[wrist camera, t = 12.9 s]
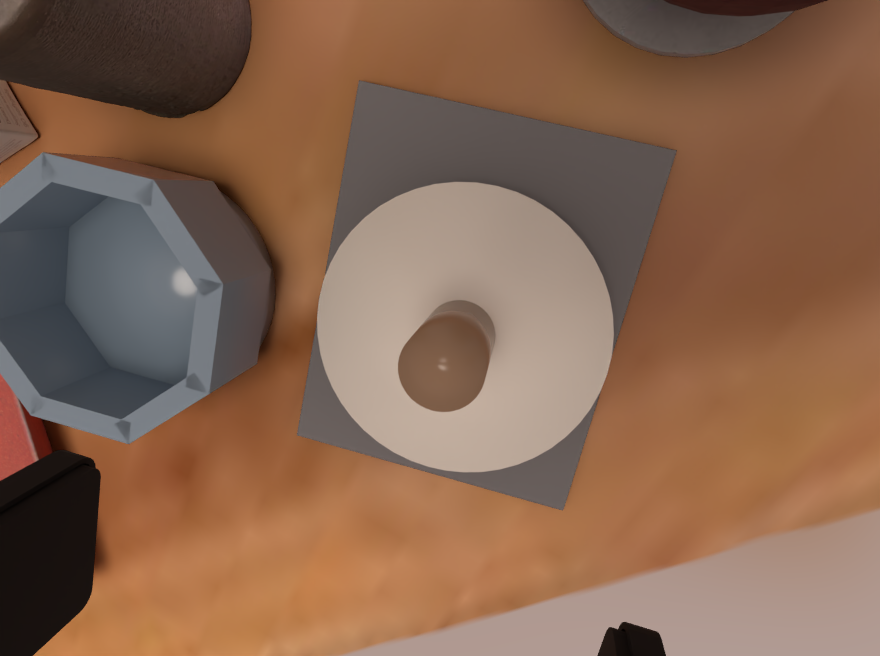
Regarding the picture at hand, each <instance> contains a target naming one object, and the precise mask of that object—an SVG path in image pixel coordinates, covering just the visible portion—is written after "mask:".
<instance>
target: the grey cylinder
mask: <svg viewBox="0 0 880 656" xmlns="http://www.w3.org/2000/svg"><path fill="white" fill-rule="evenodd" d="M250 40H251V13H250V6H249V1H248V0H0V80H4V81H10V82H14V83H19V84H23V85H26V86H30V87H34V88H39V89H44V90H50V91H54V92H59V93H65V94H70V95H74V96H78V97H83V98H88V99H92V100H96V101H101V102H105V103H110V104H116V105H120V106H126V107H130V108H134V109H137V110H142V111H144V112H146V113H149V114H152V115H156V116H160V117H168V118H181V117H184V116H185V115H187V114H191V113H195V112H196V111H199V110H200V111H203V110H205V109H207V108H209V107H210V106H212V105H213V104H214V103H216V102H217V101H218V100H219V99H221V98H222V97H223V96H224V95H225V94H226V93H227V92H228V91H229V89H230V88H231V87H232V86H233V84H234V83H235V81H236V79H237V77H238V76H239V74H240V72H241V70H242V68H243V66H244V64H245V61H246V58H247V55H248V51H249V45H250Z"/></svg>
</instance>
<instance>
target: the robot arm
mask: <svg viewBox="0 0 880 656" xmlns="http://www.w3.org/2000/svg"><path fill="white" fill-rule="evenodd" d="M100 480H101V475H100V471H99V470H98V469H96V468H95V463H94V461H93V460H92V459H91V458H89V457H85V456H82V455H79V454H76V453H72V452H69V451H66V450H57V451H55V452H52V453H51V454H49V455H47V456H45V457H43V458H41V459H39V460H38V461H36V462H34V463H32V464H30V465H28V466H27V467H25V468H23V469H21V470H19V471H17V472H16V473H14V474H12V475H10V476H8V477H6V478H4V479H3V480H1V481H0V656H33V655H34V654H35V653H36V652H37V651H38V650H39V649H40V648H41V647H43V646H44V645H45V644H46V643H47V642H48V641H49V640H50V639H51V638H52V637H53V636H55V635H56V634H57V633H58V632H59V631H60V630H61V629H62V628H63V627H64V626H65V625H66V624H68V623H69V622H70V621H71V620H72V619H73V618H74V617H75V616H76V615H77V614H78V613H79V612H80V611H81V610H82V609H83V608H84V607H85V605H86V604H87V602H88V600H89V598H90V595H91V592H92V585H93V572H94V559H95V546H96V532H97V519H98V506H99V493H100ZM598 656H666V654H665V651H664V647H663V643H662V639H661V637H660V634H659V633H658V632H656V631H653V630H650V629H647V628H643V627H640V626H637V625H633V624H630V623H627V622H623V623H622V624H621V625H620V626H619V629H615V628H612V627H610V628H608V630H607V631H606V634H605V636H604V639H603V642H602V645H601V647H600V650H599V653H598Z"/></svg>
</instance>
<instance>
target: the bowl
mask: <svg viewBox="0 0 880 656" xmlns="http://www.w3.org/2000/svg"><path fill="white" fill-rule="evenodd" d="M275 296H276V295H275V279H274V272H273V267H272V263H271V260H270V256H269V253H268V251H267V248H266V246H265V244H264V241H263V239H262V237H261V236H260V234H259V232H258V230H257V229H256V227H255V225H254V224H253V223H252V221H251V220H250V219H249V217H248V216H247V215H246V214H245V213H244V212H243V210H242V209H241V208H240V207H239V206H238V205H237V204H236V203H235V202H233V201H232V200H231V199H230V198H229V197H227V196H226V195H225V194H223V193H222V192H220V191H219V189H218V188H217V186H216V185H215V183H214V182H213V181H210V180H206V179H202V178H198V177H194V176H189V175H185V174H181V173H177V172H173V171H169V170H165V169H161V168H157V167H152V166H148V165H144V164H140V163H136V162H132V161H128V160H124V159H120V158H110V157H97V156H84V155H71V154H58V153H45V152H43V153H41V154H40V155H39V156H38V157H37V158H36V159H34V160H33V161H32V162H31V163H30V164H28V165H27V166H26V167H25V168H24V169H22V170H21V171H20V172H19V173H18V174H17V175H15V176H14V177H13V178H12V179H11V180H9V181H8V182H7V183H6V184H5V185H3V186H2V187H1V188H0V374H1V375H2V377H3V378H4V380H5V381H6V382H7V384H8V385H9V386H10V388H11V389H12V390H13V392H14V393H15V395H16V396H17V397H18V399H19V400H20V401H21V403H22V404H23V405H24V407H25V408H26V409H27V411H28V412H29V414H30V415H31V416H35V417H38V418H41V419H45V420H48V421H52V422H55V423H58V424H62V425H65V426H69V427H72V428H76V429H79V430H82V431H86V432H89V433H93V434H96V435H99V436H103V437H106V438H110V439H113V440H116V441H120V442H123V443H127V444H130V443H131V442H133V441H135V440H136V439H138V438H139V437H141V436H142V435H144V434H146V433H147V432H149V431H150V430H152V429H154V428H155V427H157V426H158V425H160V424H162V423H163V422H165V421H166V420H168V419H170V418H171V417H173V416H174V415H176V414H178V413H179V412H181V411H182V410H184V409H186V408H187V407H189V406H190V405H192V404H194V403H195V402H197V401H198V400H200V399H202V398H203V397H205V396H206V395H208V394H210V393H211V392H213V391H215V390H216V389H218V388H219V387H221V386H223V385H224V384H226V383H227V382H229V381H230V380H232V379H234V378H235V377H237V376H238V375H240V374H242V373H243V372H245V371H246V370H248V369H250V368H251V367H253V366H254V365H256V364H257V360H258V353H259V347H260V346H261V344H262V342H263V341H264V339H265V337H266V335H267V333H268V330H269V327H270V325H271V322H272V317H273V313H274V307H275Z"/></svg>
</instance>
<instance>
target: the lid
mask: <svg viewBox="0 0 880 656" xmlns="http://www.w3.org/2000/svg"><path fill="white" fill-rule="evenodd" d="M317 335H318V342H319V348H320V354H321V358H322V361H323V365H324V368H325V371H326V374H327V376H328V379H329V381H330V383H331V386H332V388H333V390H334V391H335V393H336V395H337V397H338V398H339V400H340V402H341V404H342V405H343V406H344V408H345V409H346V410H347V412H348V413H349V414H350V416H351V417H352V418H353V419H354V420H355V421H356V422H357V423H358V425H359V426H360V427H361V428H362V429H363V430H364V431H365V432H366V433H368V434H369V435H370V436H371V437H372V438H374V439H375V440H376V441H377V442H379V443H380V444H382V445H383V446H385V447H386V448H388V449H389V450H391V451H392V452H394V453H396V454H398V455H400V456H402V457H404V458H406V459H408V460H410V461H413V462H416V463H419V464H422V465H424V466H427V467H432V468H436V469H440V470H445V471H454V472H486V471H493V470H500V469H504V468H507V467H511V466H515V465H518V464H521V463H523V462H525V461H528V460H530V459H533V458H535V457H537V456H538V455H540V454H542V453H544V452H545V451H547V450H549V449H551V448H552V447H553V446H555V445H556V444H557V443H559V442H560V441H561V440H563V439H564V438H565V437H566V436H567V435H568V434H569V433H570V432H571V431H572V430H573V429H574V428H575V427H576V426H577V425H578V424H579V423H580V422H581V421H582V419H583V418H584V417H585V415H586V414H587V413H588V412H589V410H590V409H591V407H592V406H593V404H594V402H595V400H596V398H597V397H598V395H599V393H600V391H601V389H602V386H603V384H604V381H605V379H606V376H607V373H608V369H609V365H610V361H611V357H612V349H613V339H614V326H613V313H612V307H611V301H610V296H609V293H608V290H607V287H606V284H605V281H604V278H603V275H602V273H601V271H600V269H599V267H598V265H597V263H596V261H595V259H594V257H593V256H592V254H591V253H590V251H589V250H588V248H587V247H586V245H585V244H584V242H583V241H582V240H581V239H580V238H579V236H578V235H577V234H576V233H575V232H574V231H573V230H572V229H571V227H570V226H569V225H568V224H567V223H565V222H564V221H563V220H562V219H561V218H560V217H558V216H557V215H556V214H555V213H554V212H553V211H551V210H550V209H548V208H546V207H545V206H543V205H542V204H540V203H539V202H537V201H536V200H533V199H531V198H529V197H527V196H525V195H523V194H521V193H518V192H516V191H513V190H509V189H506V188H503V187H500V186H495V185H489V184H483V183H477V182H449V183H439V184H433V185H429V186H425V187H421V188H417V189H414V190H411V191H409V192H406V193H404V194H401V195H399V196H396V197H395V198H393V199H391V200H389V201H388V202H386V203H384V204H382V205H381V206H379V207H378V208H377V209H375V210H374V211H373V212H371V213H370V214H369V215H367V216H366V217H365V218H364V219H363V220H362V221H361V222H360V223H359V224H358V225H357V226H356V227H355V228H354V229H353V230H352V231H351V232H350V233H349V235H348V236H347V237H346V239H345V240H344V241H343V243H342V244H341V245H340V247H339V248H338V250H337V252H336V254H335V256H334V257H333V259H332V261H331V263H330V265H329V268H328V270H327V273H326V275H325V278H324V281H323V285H322V289H321V293H320V297H319V304H318V313H317Z"/></svg>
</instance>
